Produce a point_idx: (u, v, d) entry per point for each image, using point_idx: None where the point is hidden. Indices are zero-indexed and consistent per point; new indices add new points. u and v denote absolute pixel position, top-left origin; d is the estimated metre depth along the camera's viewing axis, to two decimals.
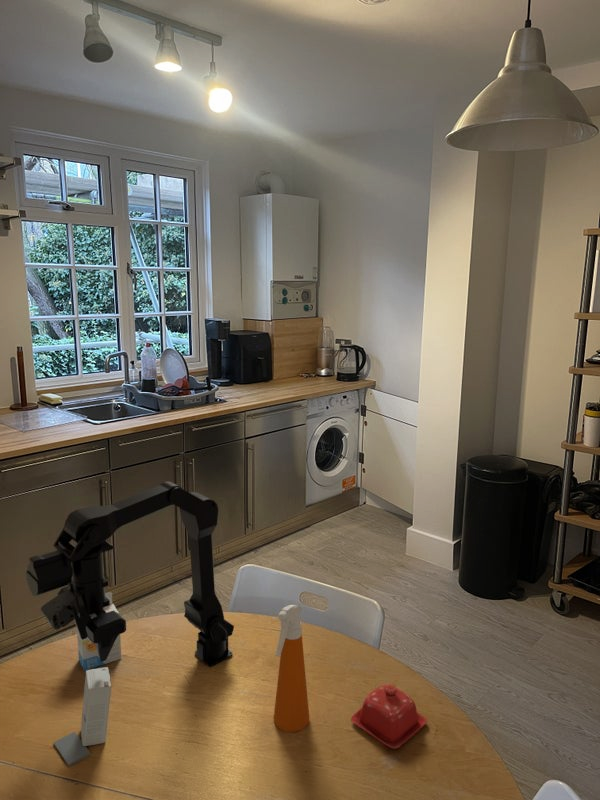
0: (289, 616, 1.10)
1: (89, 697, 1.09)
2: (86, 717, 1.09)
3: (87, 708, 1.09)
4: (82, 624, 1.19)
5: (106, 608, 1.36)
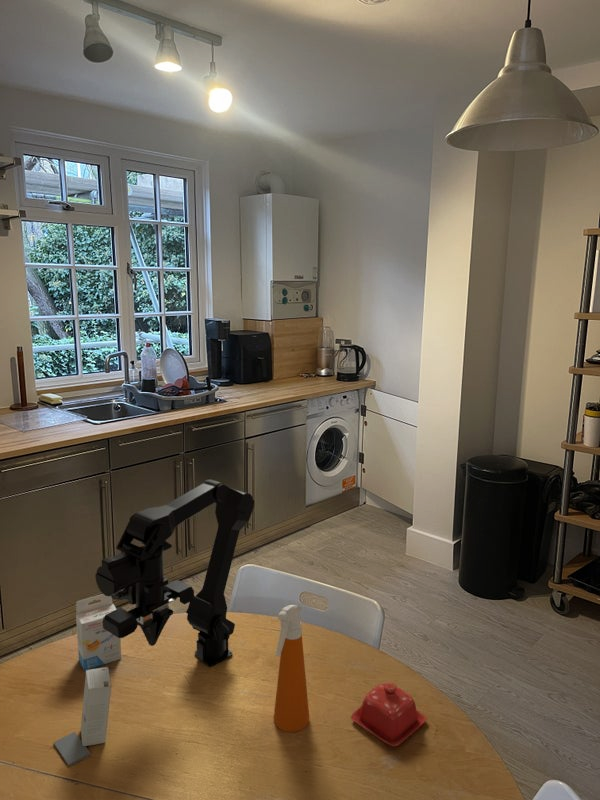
0: (289, 616, 1.10)
1: (89, 697, 1.09)
2: (86, 717, 1.09)
3: (87, 708, 1.09)
4: None
5: (106, 608, 1.36)
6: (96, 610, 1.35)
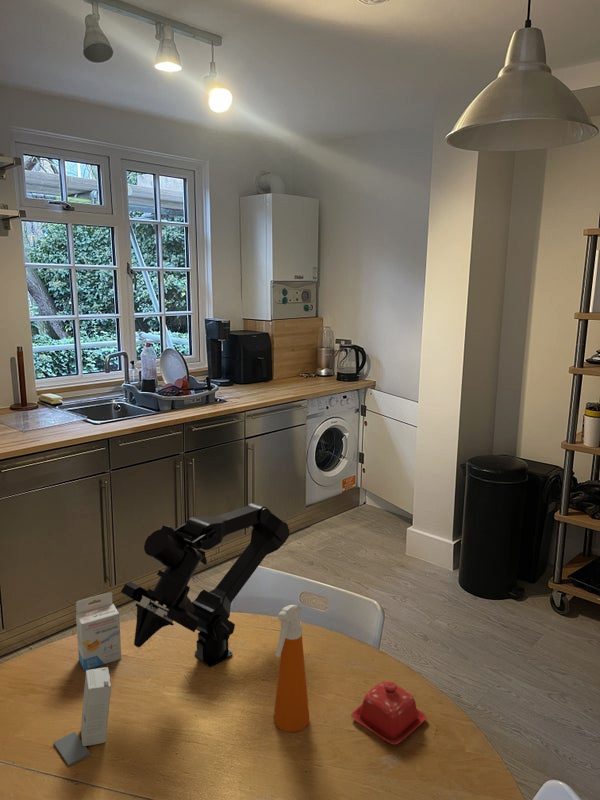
0: (289, 616, 1.10)
1: (89, 697, 1.09)
2: (86, 717, 1.09)
3: (87, 708, 1.09)
4: None
5: (106, 608, 1.36)
6: (96, 610, 1.35)
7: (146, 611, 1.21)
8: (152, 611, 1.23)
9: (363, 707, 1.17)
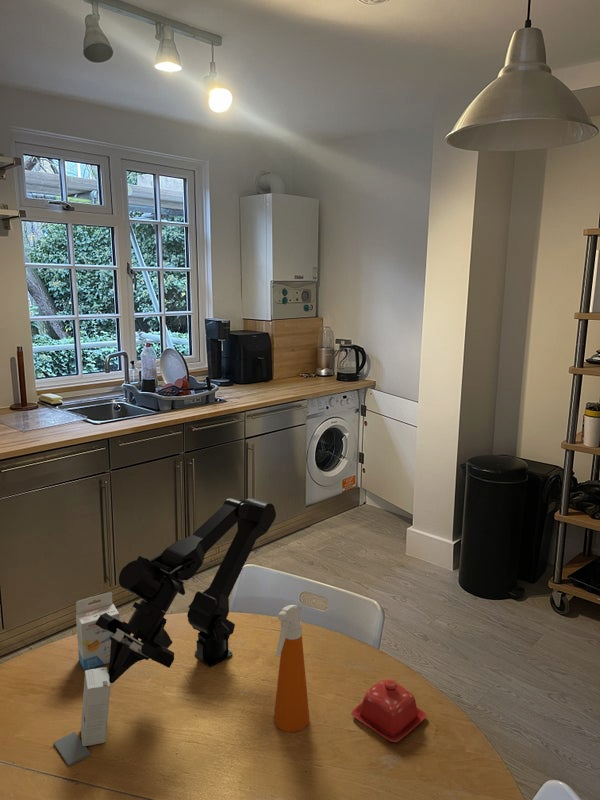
0: (289, 616, 1.10)
1: (88, 697, 1.09)
2: (85, 717, 1.09)
3: (86, 708, 1.09)
4: None
5: (106, 608, 1.36)
6: (96, 610, 1.35)
7: (120, 645, 1.17)
8: (127, 644, 1.19)
9: (363, 705, 1.18)
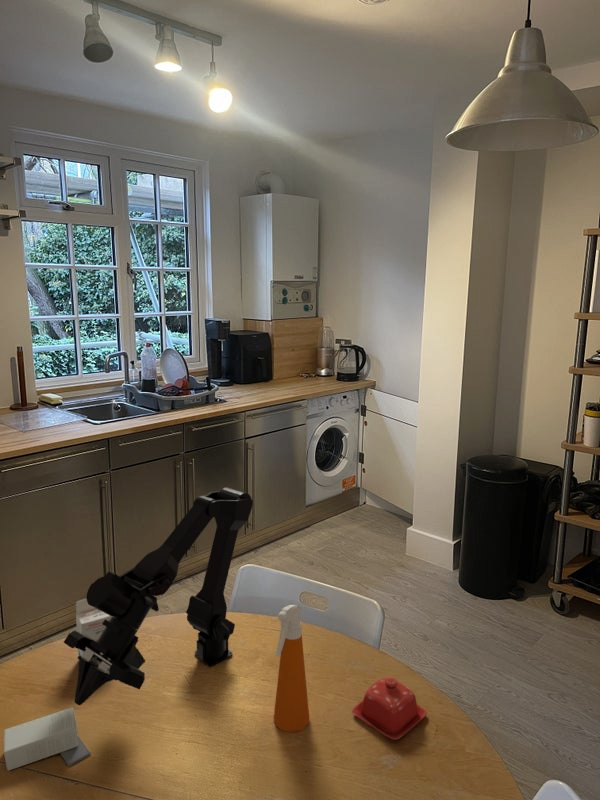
0: (289, 616, 1.10)
1: (17, 766, 1.06)
2: (43, 757, 1.08)
3: (31, 761, 1.07)
4: None
5: None
6: (96, 610, 1.35)
7: (89, 665, 1.12)
8: (96, 664, 1.13)
9: (364, 703, 1.18)
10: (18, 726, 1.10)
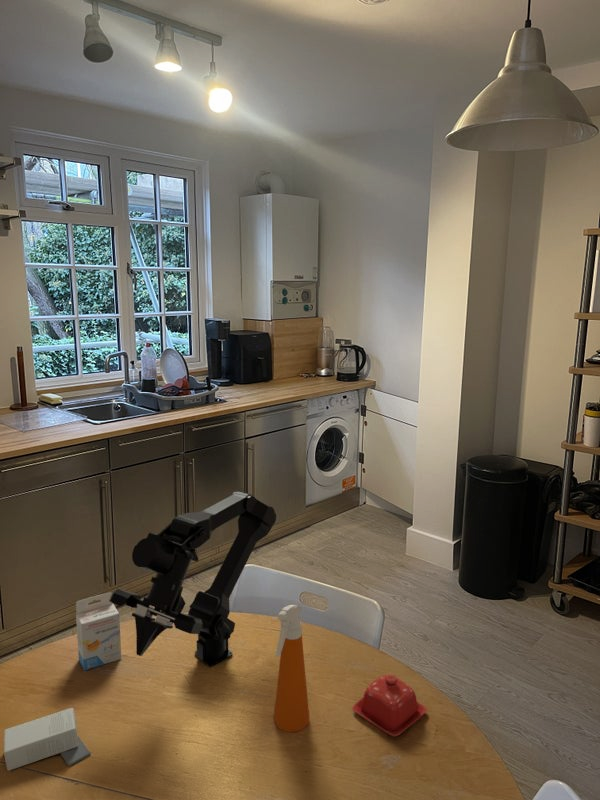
0: (289, 616, 1.10)
1: (17, 766, 1.06)
2: (43, 758, 1.08)
3: (31, 762, 1.07)
4: None
5: (106, 608, 1.36)
6: (96, 610, 1.35)
7: (145, 620, 1.18)
8: (148, 617, 1.20)
9: (364, 700, 1.19)
10: (18, 726, 1.10)
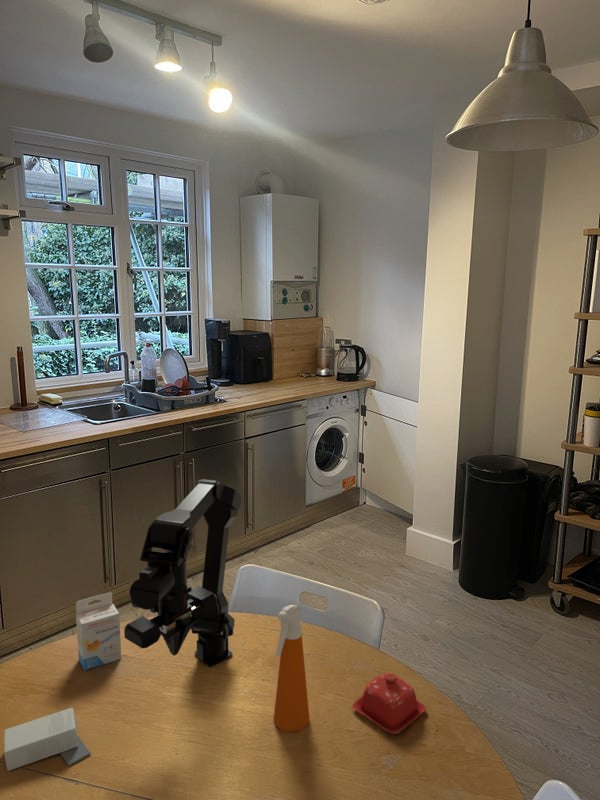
0: (289, 616, 1.10)
1: (17, 766, 1.06)
2: (43, 758, 1.08)
3: (31, 762, 1.07)
4: None
5: (106, 608, 1.36)
6: (96, 610, 1.35)
7: None
8: None
9: (364, 698, 1.20)
10: (18, 726, 1.10)
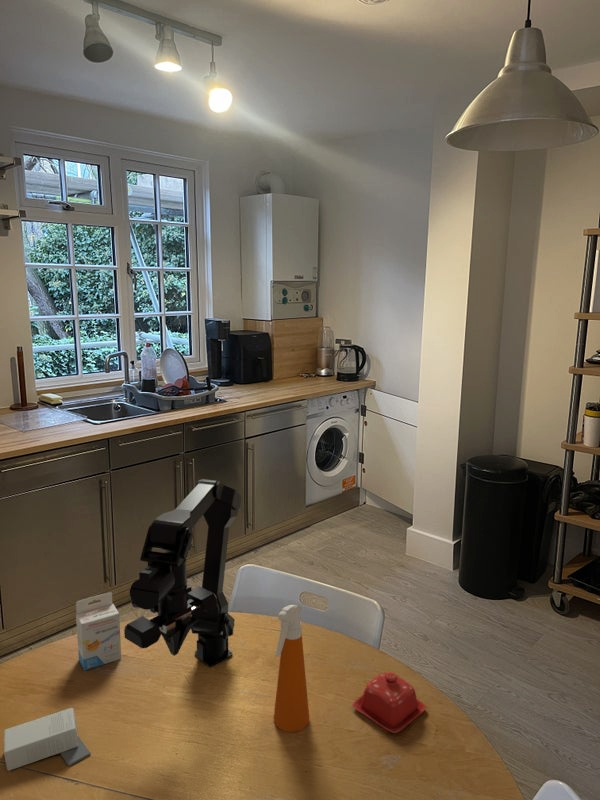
0: (289, 616, 1.10)
1: (17, 766, 1.06)
2: (43, 758, 1.08)
3: (31, 762, 1.07)
4: None
5: (106, 608, 1.36)
6: (96, 610, 1.35)
7: None
8: None
9: (364, 697, 1.20)
10: (18, 726, 1.10)
